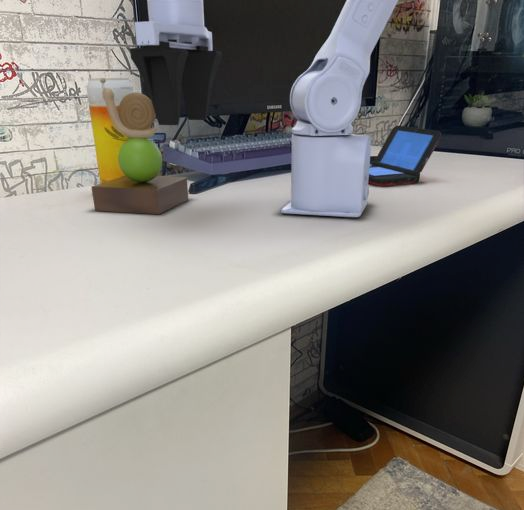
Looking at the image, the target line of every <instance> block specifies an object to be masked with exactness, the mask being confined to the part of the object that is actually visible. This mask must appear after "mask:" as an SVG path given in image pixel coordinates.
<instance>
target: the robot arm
mask: <svg viewBox="0 0 524 510" xmlns="http://www.w3.org/2000/svg"><path fill="white" fill-rule="evenodd" d="M146 1H147V2H146V3H147V14H148V21H135V22H134V32H135V40H136V46H138V47H133V48H132V47H131V48H129V54H130V59H131V61H132V62H133V64H134V66H135V67H136V69H137V70H138V72H139V74H140V76H141V78H142V80H143V82H144V84H145V87H146V90H147V93H148V95H149V99H150V100H151V102H152V105H153V108H154V111H155V115H156V118H155V119H156V120H157V123H158V125H159V126H178V125H179V124H180V119H181V92H182V95H183V102H184V103H183V104H184V108H185V109H184V110H185V114H186V116H187V119H188V120H189V121H206V120H207V118H208V113H209V106H210V100H211V93H212V87H213V84H214V80H215V76H216V74H217V70H218V68H219V65H220V64H221V61H222V57H223V56H222V51H219V50H213V49H214V48H213V32H212V31H209V30H208V28H207V27H206V26H205V14H204V13H205V12H204V0H146ZM398 2H399V0H346V1H345V3H344V5H343V7H342V9H341V11H340V13H339V16H338V17H337V20H336V22H335V23H334V26H333V27H332V30H331V31H330V34H329V36H328V37H327V39H326V41H325V42H324V43H323V44H322V46H321V47H320V49H319V50H318V52H317V53H316V54H315V57H314V58H313V61H312V62H311V64H310V65H309V67H308V68H307V70H305V71H304V72H303V73H301V74H300V75H299V76H298V77H297V78H296V80H294V82H293V85H292V86H291V90H290V93H289V106H290V109H291V112H292V114H293V116H294V117H295V119H296V120H297V121H296V123H295V125H294V126H293V127H292V128H291V133H292V134H291V165H290V166H291V168H290V169H291V173H290V182H291V183H290V201H289V203H287V204H286V205H285V206H284V207H283V208H281V210H280V211H281V214H287V215H288V214H289V215H304V216H305V215H306V216H307V215H308V216H322V217H323V216H324V217H341V218H343V217H344V218H360V217H361V215H363V212H364V210H365V209H366V207H367V205H368V200H369V194H370V185H369V183H368V180H369V167H370V165H371V153H372V152H371V151H372V149H371V148H372V142H371V141H372V139H371V135H368V134H356V133H354V129H355V128H354V126H353V125H352V123H353V122H354V121H355V120H356V118H357V116H358V115H359V112H360V110H361V105H362V93H363V89H364V85H365V83H366V81H367V79H368V77H369V74H370V71H371V55H372V52H373V51H374V49H375V47H376V45H377V43H378V41H379V39H380V37H381V36H382V34H383V31H384V29H385V27H386V26H387V23H388V21H389V19H390V17H391V16H392V13H393V11H394V9H395V7H396V6H397V4H398ZM171 40H172V41H171ZM174 40H176V41H174ZM139 46H142V47H139Z"/></svg>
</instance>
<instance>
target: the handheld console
mask: <svg viewBox="0 0 524 510" xmlns="http://www.w3.org/2000/svg"><path fill="white" fill-rule="evenodd" d="M441 138H442V132H441V131H439V130H435V129H427V128H420V127H414V126H413V127H412V126H405V125H395V126H394V127H392V129H391V130H390V132H389V134H388V136H387V137H386V139H385V141H384V143H383V145H382V146H381V148H380V150H379V152H378V154H377V156H376V157H375V159H374V160H373V161H372V162H371V164H370V167H369V180H368V184H372V185H376V186H380V187H383V186H384V187H385V186H394V185H395V186H396V185H405V184H418V183H419V182H420V181H421V180H420V179H421V173H422V172H423V170H424V168H425V166H426V165H427V163H428V161H429V160H430V158H431V156H432V154H433V152H434V151H435V149H436V147H437V145H438V144H439V143H440V141H441Z"/></svg>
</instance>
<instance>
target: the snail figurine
mask: <svg viewBox="0 0 524 510" xmlns="http://www.w3.org/2000/svg"><path fill="white" fill-rule="evenodd" d="M99 78H100V82H101V83H102V88H103V85H104V83H105V82H106V80H105V78H106V77H99ZM102 94H103V99H104V100H105V103H106V106H107V110H108V112H109V115H110V118H111V120H112V122H113V124H114V126H115V127H116V129H117V130H118V131H119V132H120V133H122V134H123V135H125V136H127V137H129V138H131V139H129V140H127V141H126V142H125V143H124V144H123V145H122V146H121V148H120V150H119V154H118V162H119V166H120V168H121V170H122V172H123V173H124V174H125V175H126V176H127V177H128V178H129V179H131V180H133V181H136V182H148V181H151V180H152V179H154V178H155V177H156V176H159V174H160V172H161V170H162V166H163V155H162V152H161V151H160V148H159V147H158V146H157V144H156V143H155V142H153V141H152V140H151V139H150V138H151V137H153V136H154V135H155V134H156V133H157V131H158V127H157V126H153V124H154V123H155V121H156V119H157V118H156V115H155V111H154V108H153V105H152V102H151V99H150V97H148V96H147V95H146V94H144V93H141V92H136V91H135V92H133V93H130V94H128V95H126V96H125V97H124V98H123V99H122V101H121V102H120V105H119V112H118V110H117V108H116V105H115V102H114V92H113V91H112V90H111V89H109V88H106V89H105V88H104V89H103V92H102ZM152 126H153V127H152Z"/></svg>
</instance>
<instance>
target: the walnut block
mask: <svg viewBox="0 0 524 510" xmlns="http://www.w3.org/2000/svg"><path fill="white" fill-rule="evenodd" d="M91 194H92V200H93V208H94V211H95V212H113V213H125V214H126V213H128V214H143V215H161V214H163V213H164V212H167V211H168V210H171V209H173V208H175V207H177V206H179V205H181V204H183V203H185V202H187V201H189V189H188V177H186V176H184V177H183V176H162V175H161V176H159V175H157V176H156V177H155V178H154V179H152V180H151V181H148V182H136V181H133V180H131V179H129V178H128V177H127V176H123V177H120V178H117V179H114V180H110V181H107V182H104V183H101V184H100V183H98V184H96V185H92V186H91Z"/></svg>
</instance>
